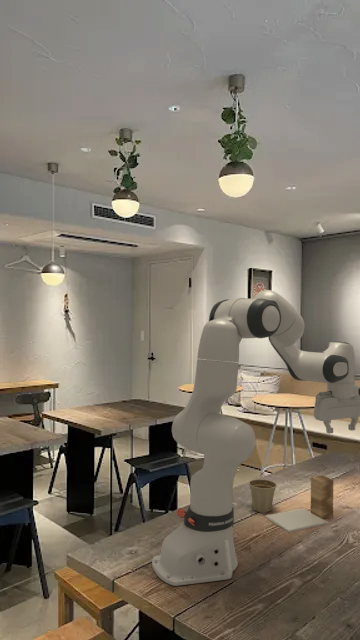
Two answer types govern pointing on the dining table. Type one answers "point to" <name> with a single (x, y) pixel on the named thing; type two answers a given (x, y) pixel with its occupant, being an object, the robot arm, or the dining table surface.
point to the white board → (296, 520)
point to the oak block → (322, 496)
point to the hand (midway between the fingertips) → (340, 431)
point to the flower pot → (262, 494)
